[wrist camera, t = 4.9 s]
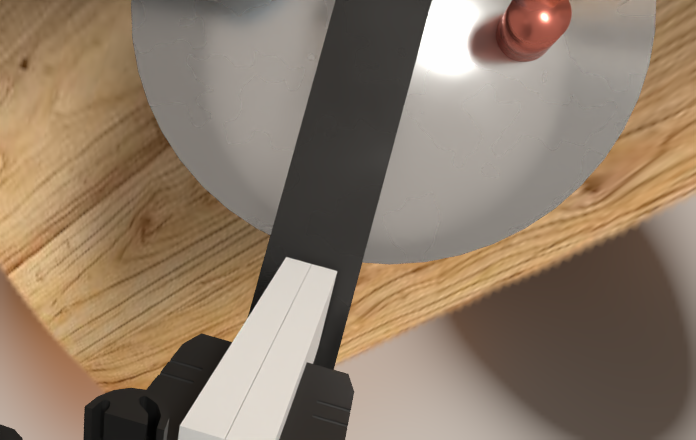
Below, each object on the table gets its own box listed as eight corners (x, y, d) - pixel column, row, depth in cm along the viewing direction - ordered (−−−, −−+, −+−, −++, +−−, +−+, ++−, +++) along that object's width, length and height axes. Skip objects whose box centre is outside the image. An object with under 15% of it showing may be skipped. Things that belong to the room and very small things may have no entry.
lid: (36, 366, 18) (-34, 392, 15) (220, -261, 19) (191, -360, 16) (523, 508, 17) (559, 567, 14) (688, -157, 19) (755, -241, 15)
